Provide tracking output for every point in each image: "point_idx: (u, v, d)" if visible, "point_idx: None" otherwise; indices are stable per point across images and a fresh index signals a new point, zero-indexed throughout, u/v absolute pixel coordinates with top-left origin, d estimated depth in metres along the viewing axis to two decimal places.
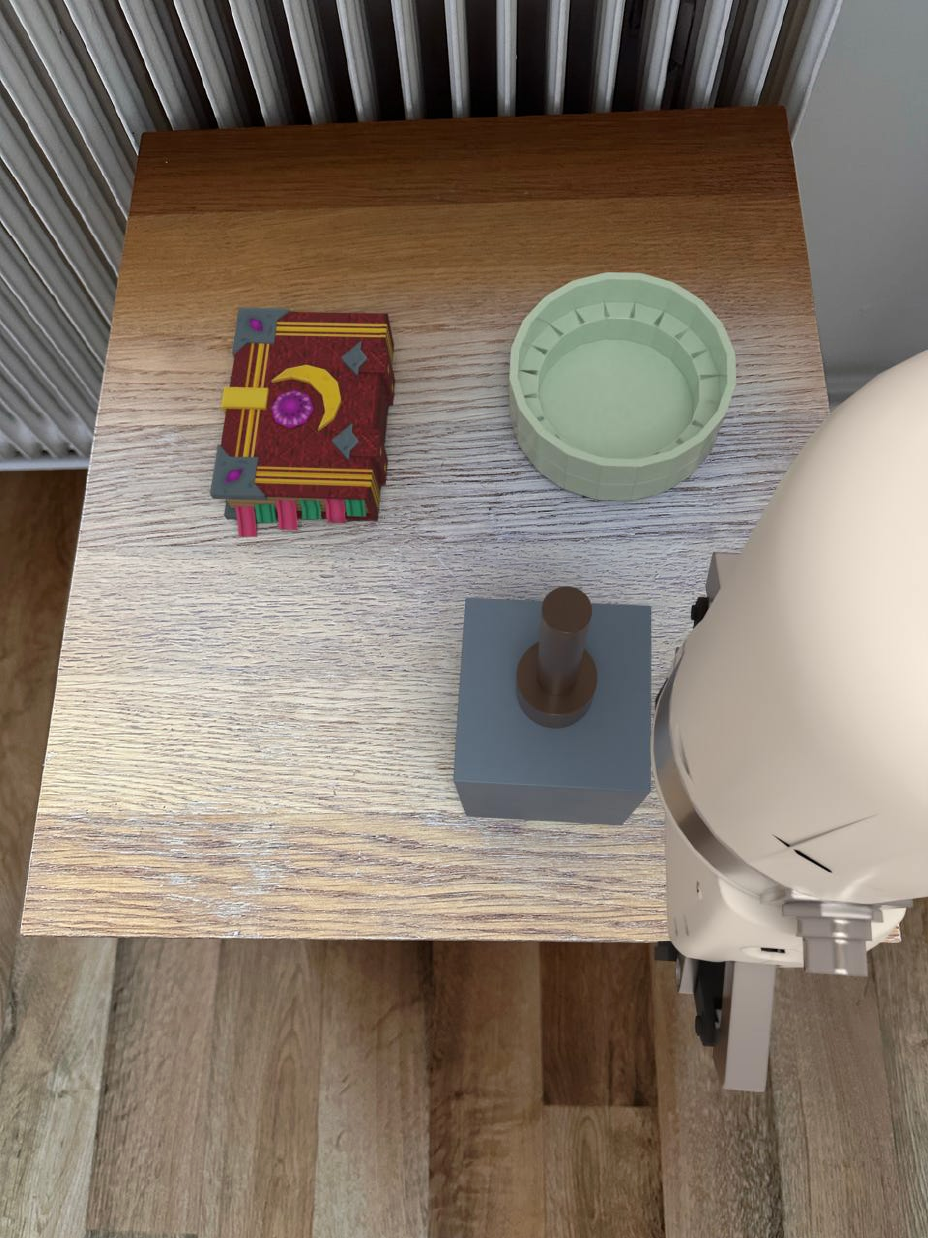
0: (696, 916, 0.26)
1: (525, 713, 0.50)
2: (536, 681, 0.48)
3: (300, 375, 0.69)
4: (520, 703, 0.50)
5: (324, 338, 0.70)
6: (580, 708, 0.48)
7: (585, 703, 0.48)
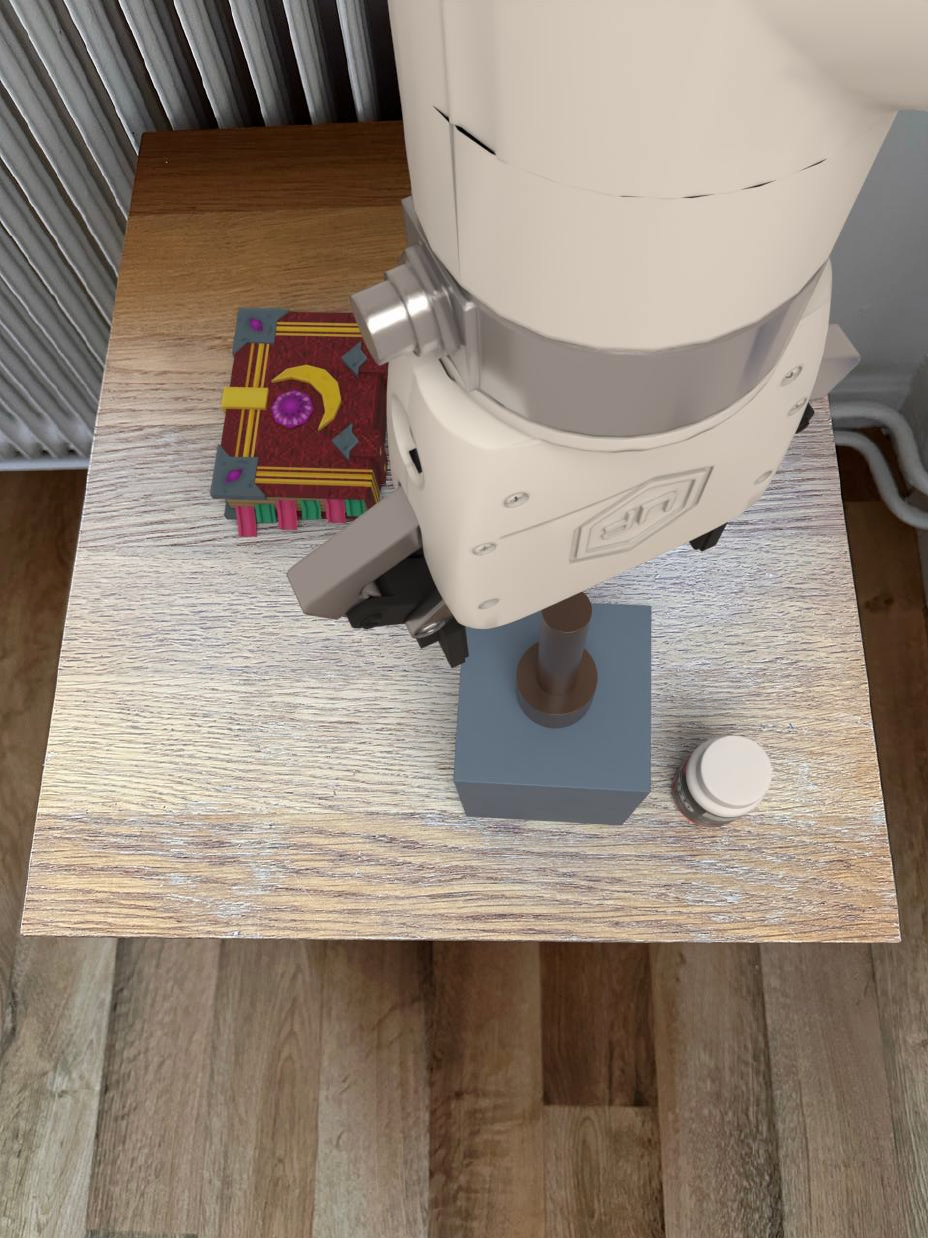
0: None
1: (525, 713, 0.50)
2: (536, 681, 0.48)
3: (300, 375, 0.69)
4: (520, 703, 0.50)
5: (324, 338, 0.70)
6: (580, 708, 0.48)
7: (585, 703, 0.48)
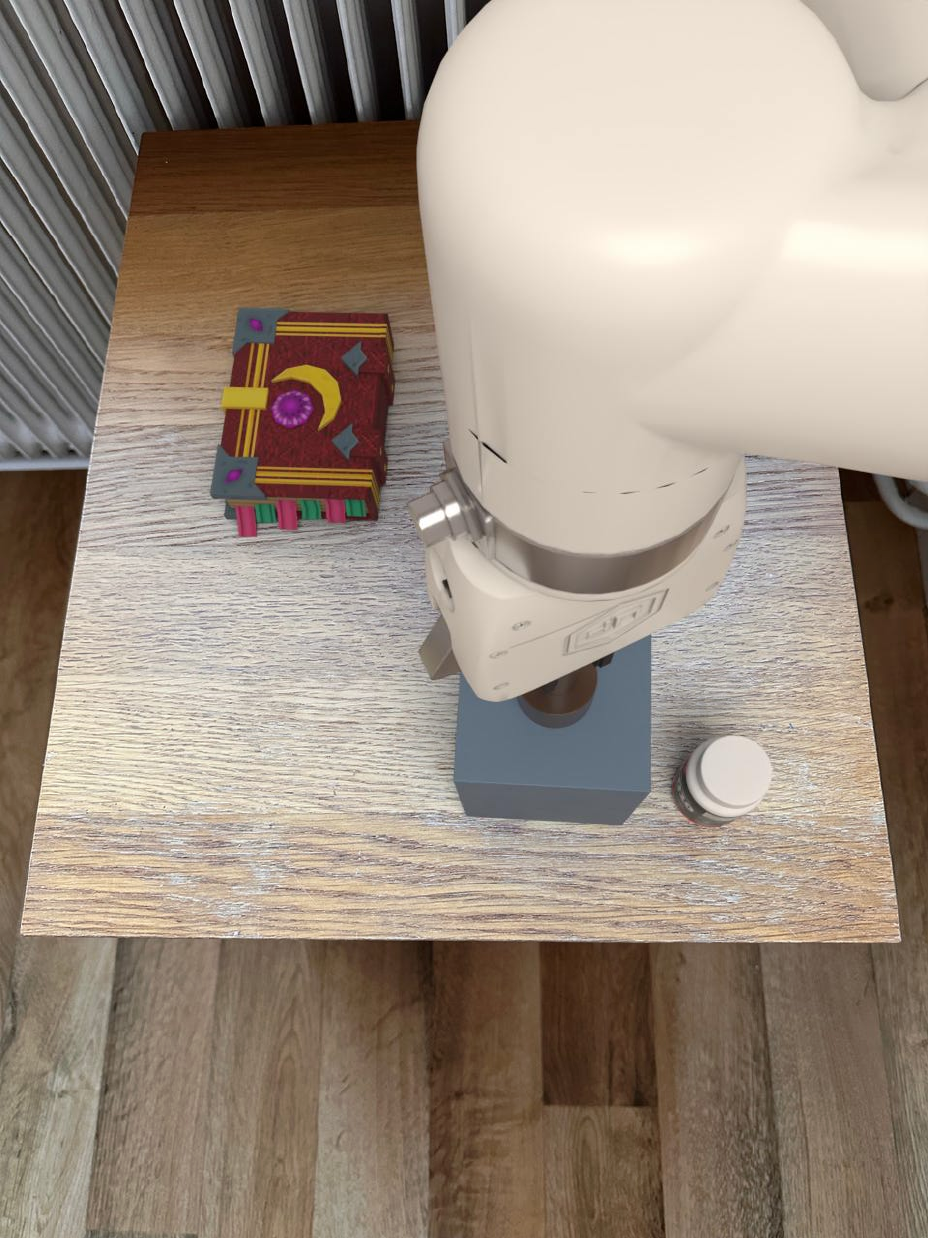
0: None
1: (525, 713, 0.50)
2: None
3: (300, 375, 0.69)
4: (520, 703, 0.50)
5: (324, 338, 0.70)
6: (580, 708, 0.48)
7: (585, 703, 0.48)
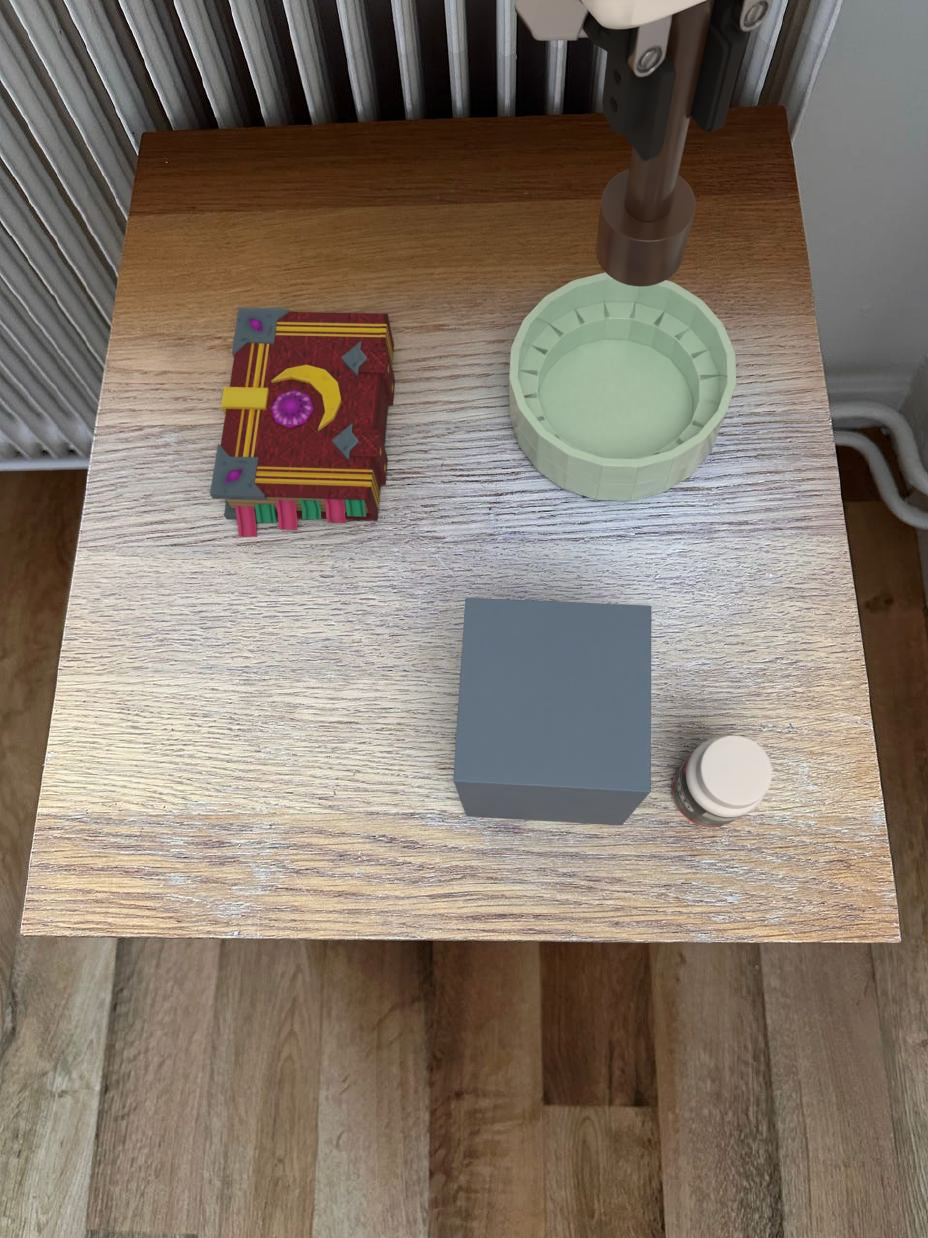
0: None
1: (608, 269, 0.44)
2: (624, 208, 0.42)
3: (300, 375, 0.69)
4: (602, 254, 0.44)
5: (324, 338, 0.70)
6: (677, 233, 0.41)
7: (683, 228, 0.41)
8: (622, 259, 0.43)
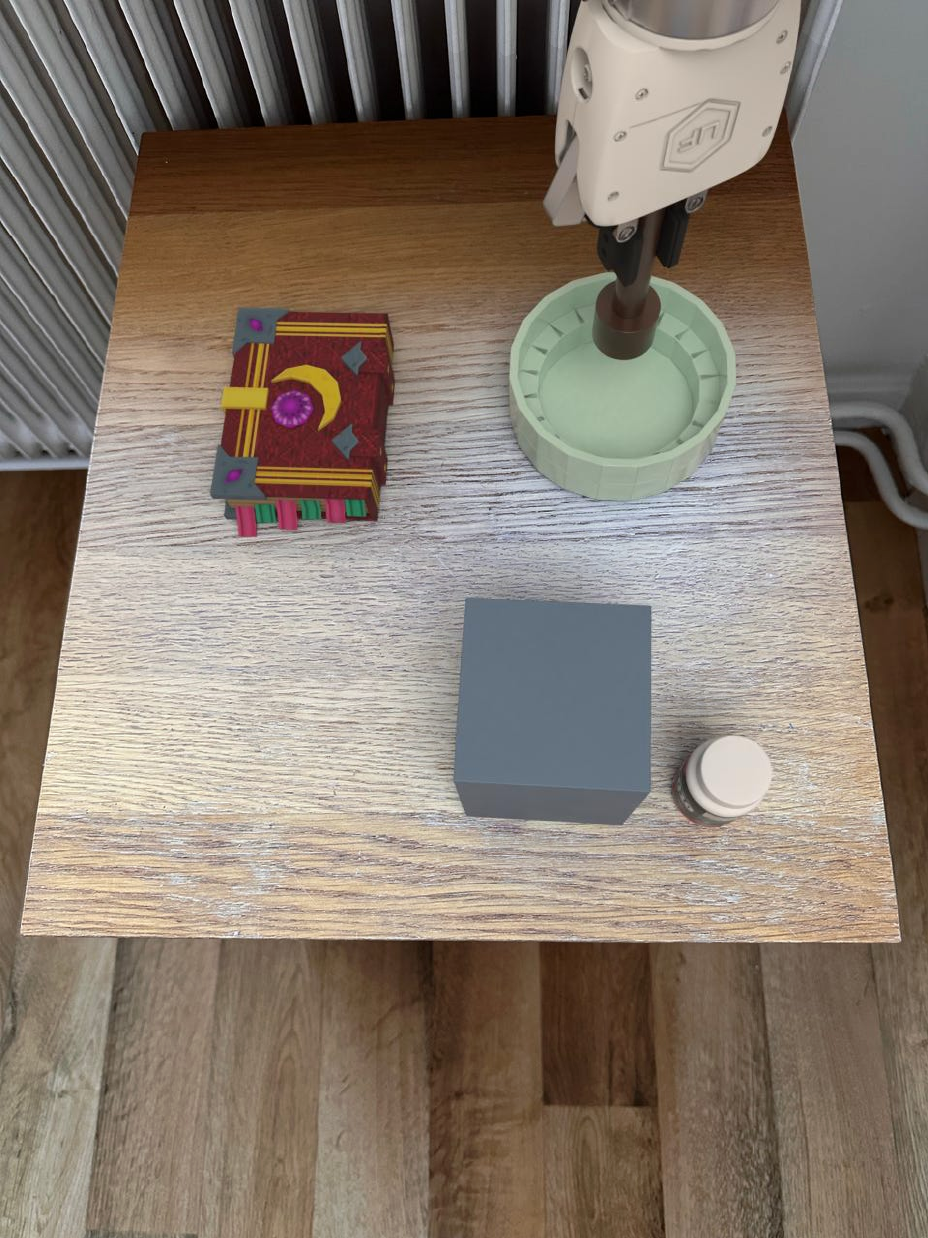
0: None
1: (600, 347, 0.62)
2: (612, 308, 0.60)
3: (300, 375, 0.69)
4: (596, 337, 0.62)
5: (324, 338, 0.70)
6: (647, 327, 0.60)
7: (651, 323, 0.60)
8: (610, 342, 0.61)
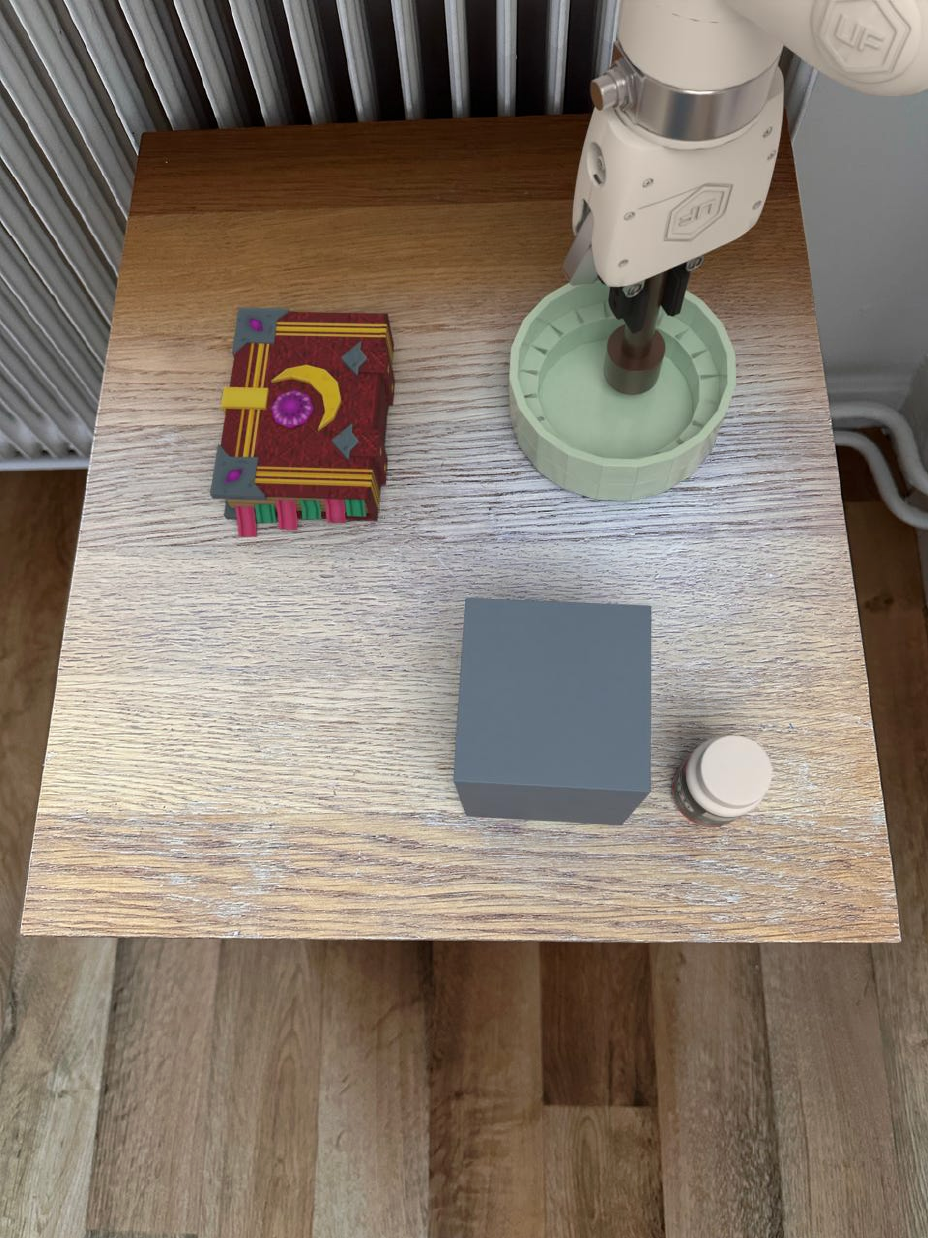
0: None
1: (611, 383, 0.70)
2: (621, 350, 0.67)
3: (300, 375, 0.69)
4: (607, 375, 0.69)
5: (324, 338, 0.70)
6: (653, 367, 0.67)
7: (657, 363, 0.67)
8: (619, 379, 0.68)
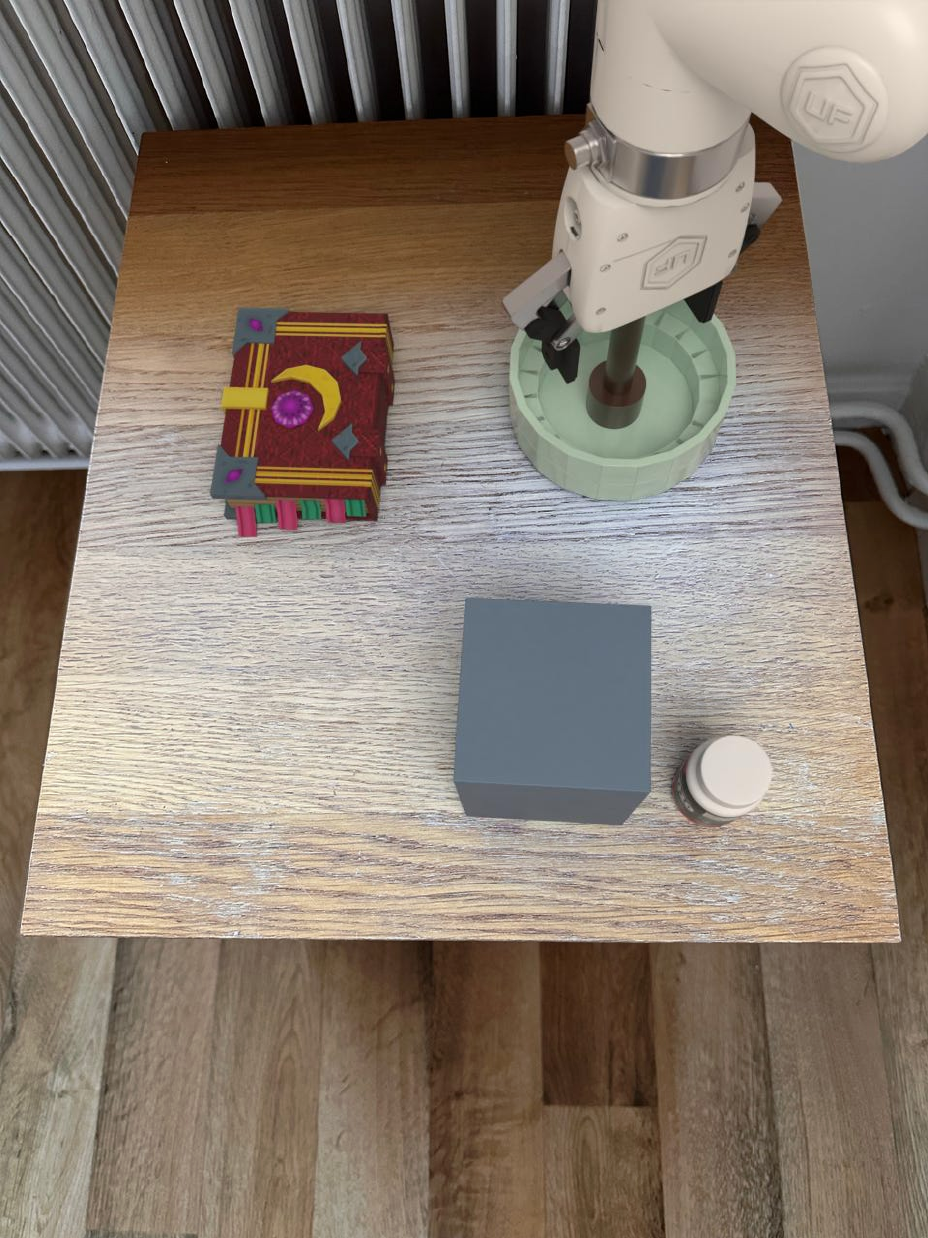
0: None
1: (593, 418, 0.71)
2: (603, 386, 0.68)
3: (300, 375, 0.69)
4: (590, 409, 0.70)
5: (324, 338, 0.70)
6: (634, 403, 0.68)
7: (638, 399, 0.68)
8: (601, 415, 0.69)
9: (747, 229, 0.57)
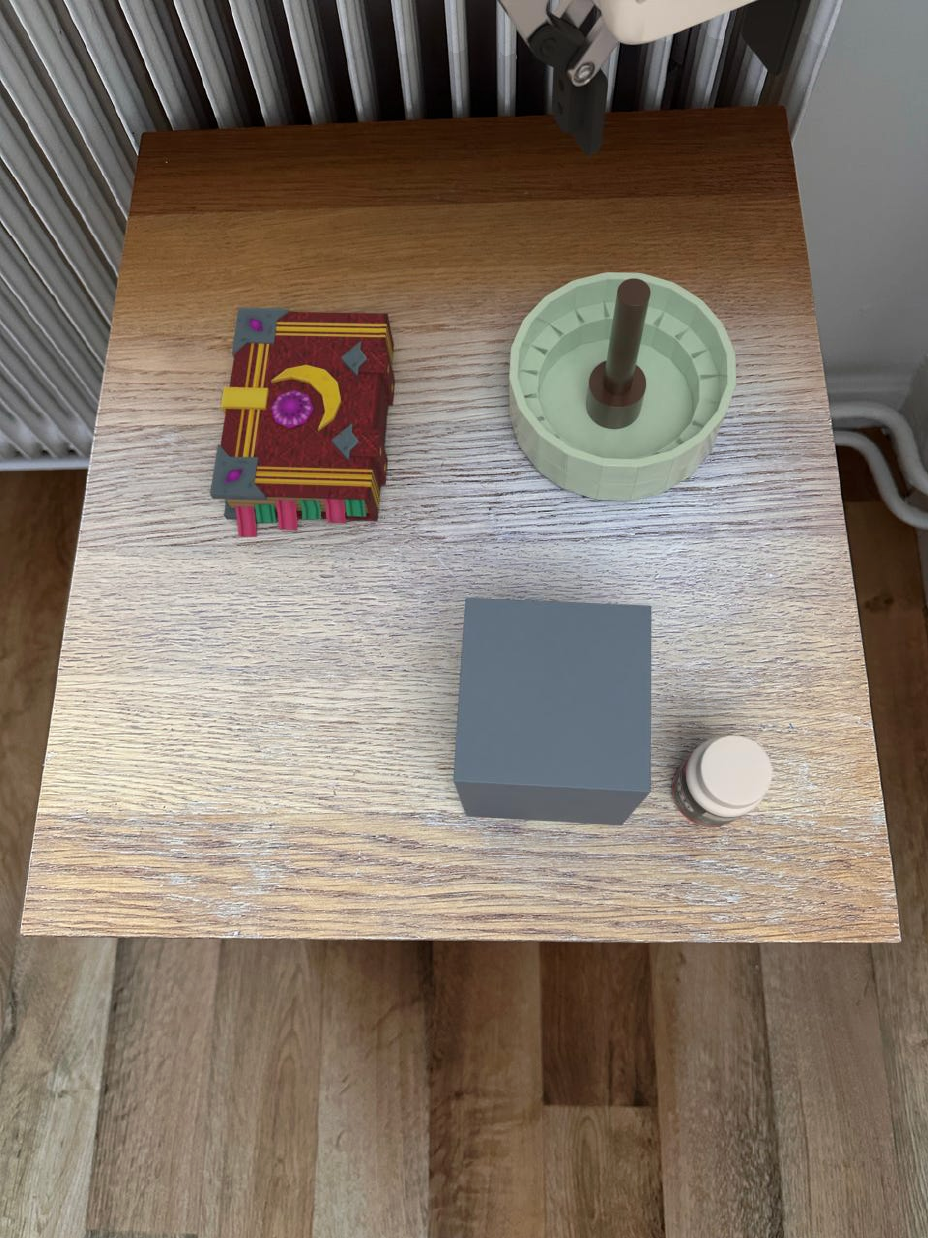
0: None
1: (593, 418, 0.71)
2: (603, 386, 0.68)
3: (300, 375, 0.69)
4: (590, 409, 0.70)
5: (324, 338, 0.70)
6: (634, 403, 0.68)
7: (638, 399, 0.68)
8: (601, 415, 0.69)
9: None
